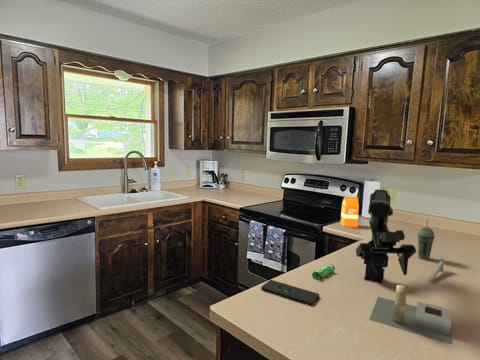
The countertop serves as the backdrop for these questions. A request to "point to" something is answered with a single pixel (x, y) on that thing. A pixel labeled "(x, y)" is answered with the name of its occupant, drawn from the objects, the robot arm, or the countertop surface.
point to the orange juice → (350, 211)
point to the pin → (400, 304)
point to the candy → (323, 271)
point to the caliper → (437, 270)
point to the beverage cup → (425, 242)
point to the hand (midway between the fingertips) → (391, 274)
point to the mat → (385, 315)
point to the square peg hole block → (433, 318)
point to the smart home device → (290, 292)
